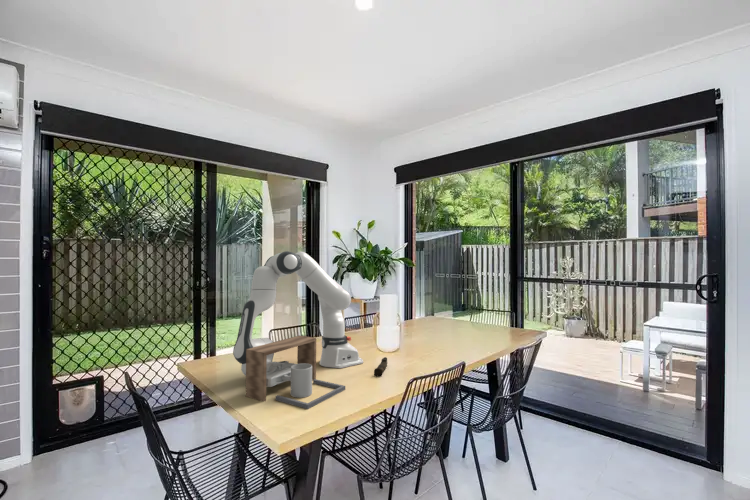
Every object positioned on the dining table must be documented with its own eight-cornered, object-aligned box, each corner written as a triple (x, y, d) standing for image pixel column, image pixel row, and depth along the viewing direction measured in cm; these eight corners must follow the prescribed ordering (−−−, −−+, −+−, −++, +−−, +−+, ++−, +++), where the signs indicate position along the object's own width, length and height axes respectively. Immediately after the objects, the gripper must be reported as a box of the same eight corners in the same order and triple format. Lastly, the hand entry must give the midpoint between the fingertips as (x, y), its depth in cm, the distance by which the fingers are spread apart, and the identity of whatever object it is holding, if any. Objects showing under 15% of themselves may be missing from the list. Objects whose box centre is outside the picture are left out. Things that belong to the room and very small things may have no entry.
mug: (309, 398, 145) (309, 369, 145) (287, 397, 146) (288, 369, 146) (315, 387, 157) (315, 361, 157) (295, 386, 158) (295, 360, 158)
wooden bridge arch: (245, 396, 146) (246, 349, 147) (299, 375, 173) (299, 335, 173) (263, 401, 141) (264, 352, 142) (315, 379, 167) (316, 337, 168)
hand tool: (382, 377, 171) (382, 367, 171) (373, 376, 172) (373, 366, 172) (391, 365, 190) (391, 356, 190) (383, 365, 191) (383, 356, 191)
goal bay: (275, 399, 143) (275, 396, 143) (315, 382, 163) (315, 379, 163) (307, 409, 135) (307, 404, 135) (345, 389, 155) (345, 385, 155)
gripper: (252, 371, 152) (277, 377, 144) (288, 359, 169) (312, 364, 162) (252, 387, 151) (277, 394, 144) (288, 373, 169) (312, 379, 162)
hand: (296, 378), depth 153 cm, fingers closed
